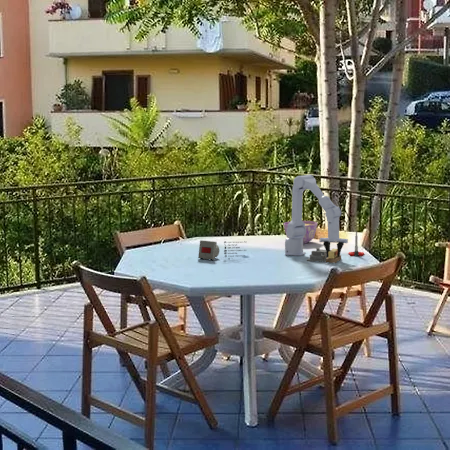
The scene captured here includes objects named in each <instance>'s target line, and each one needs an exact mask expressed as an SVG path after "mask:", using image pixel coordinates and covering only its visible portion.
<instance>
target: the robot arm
mask: <svg viewBox="0 0 450 450" xmlns="http://www.w3.org/2000/svg"><path fill="white" fill-rule="evenodd" d="M305 190H310V191H311V193H312V194H313V195H314V196H315V197H316V198H317V199H318V204H319V205H320V207H321V208H322V209H323V211H324V212H325V214H324V215H325V217H326V221H327V237H320V238H319V243H323V244H322V245H323V246H324V250H326V252H327V256H328V252H329V251H330V250H331V243H336V249H337V250H338V252H337V257H339V256H340V255H341V252H342V249H343V246H344V244H348V243H349V239H348V238H340V217H341V216H342V209H341V208H340V206H337V205H336V204H335V203H333V201H332V200H331V197H329V196H328V195H325V194H324V193H323V191H322V189H320V187H319V185H318V183H317V179H316V178H315V177H314V176H313V175H312V174H306V175H297V176H295V177H294V179H293V185H292V191H291V193H292V195H291V196H292V197H291V222H290V221H289V222H290V223H289V224H288V228H287V231H286V233H287V236H288V237H289V238H287V236H286V238H285V240H284V241H285V242H284V255H285V256H304V255H305V254H306V252H304V244H303V238H304V235H305V234H306V229H305V223H304V222H303V221H304V220H303V197H304V195H303V193H304V191H305ZM286 233H285V234H286Z"/></svg>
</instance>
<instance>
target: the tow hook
mask: <svg viewBox="0 0 450 450" xmlns="http://www.w3.org/2000/svg"><path fill="white" fill-rule="evenodd" d="M354 237H355V240H354V251H349V252H348V253H347V254H348V255H349V256H351V257H363V256H364V255H365V252H364V251H359V246H358V244H359V243H358V241H359V239H358V231H355V236H354Z"/></svg>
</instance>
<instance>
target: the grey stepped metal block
mask: <svg viewBox="0 0 450 450" xmlns="http://www.w3.org/2000/svg"><path fill="white" fill-rule="evenodd" d="M310 252H311V254H309V258H307V259H306V261H307V262H315V261H319V262H318V263H327V262H326V258H328V256H327V252H326V249H321V248H320V247H316V250H312V251H310ZM320 261H321V262H320ZM322 261H323V262H322Z"/></svg>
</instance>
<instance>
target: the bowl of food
mask: <svg viewBox="0 0 450 450" xmlns="http://www.w3.org/2000/svg"><path fill="white" fill-rule="evenodd" d="M302 221H303V222H304V223H305V229H306V234H305V235H304V238H303V245H304V244H307V243H309V242H311V241H312V240H314V239H315V236H316V235H315V234H316V231H317V227H318V221H311V220H302ZM290 222H291V221H285V222H283V229H284V232H285V237H286V238H289V237H288V236H287V233H286V231H287V228H288V224H289V223H290Z"/></svg>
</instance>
